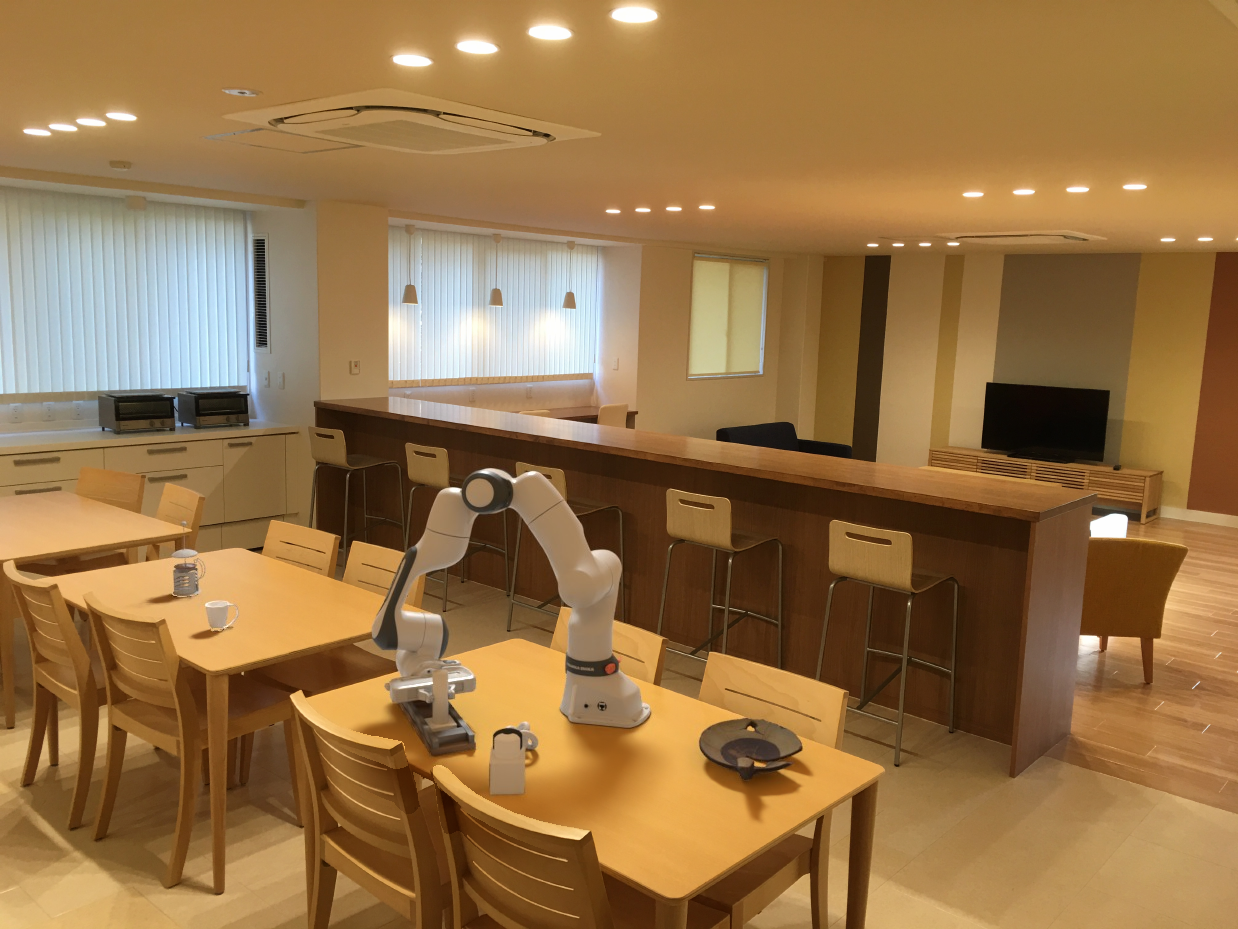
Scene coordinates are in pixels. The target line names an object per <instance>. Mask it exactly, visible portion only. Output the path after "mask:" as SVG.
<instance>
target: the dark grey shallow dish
mask: <svg viewBox="0 0 1238 929" xmlns="http://www.w3.org/2000/svg"><path fill="white" fill-rule="evenodd" d="M749 727H751V728H752V729H754V730H749V729H748V728H749ZM698 739H699V740H698V746H699V749H700V752H701V753H702V755H703V756H704V757H705V758H706V759H707V760H709V761H710V762H712V763H714V764H715V765H717V766H719V767H721V768H723V769H726V770H728V771H732V772H734V773H737V774H738V775H739V777H740V779H741V780H742V781H746V782H747V781H751V780H752V779H753V777H754V776H756V775H761V774H771V773H774V772H778V771H781V770H784V769H786V768H788V767H790V766H792V765H794V764H795V762H794V761H788V760H787V761H781V760H785V759H787V758H789V757H792V756H795V755H797V754H799V753H801V752H802V751H803V742H802V741H801V739H800V738H799V737H798V735H797V734H796V733H794V732H793V731H792V730H791V729H788V728H786V727H785V726H782V725H779V724H778V723H774V722H771V721H768V720H765V719H763V718H762V719H759V718H758V719H757V718H756V719H755V718H749V717H742V718H736V719H728V720H724V721H720V722H717V723H714V724H711V725H709V726H708V727H706V729H704V730H702V732H701V733H700V737H699V738H698ZM754 760H755V761H758V762H762V763H766V765H764V766H757V765H755V761H754Z"/></svg>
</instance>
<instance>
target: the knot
mask: <svg viewBox="0 0 1238 929" xmlns="http://www.w3.org/2000/svg"><path fill="white" fill-rule="evenodd" d="M505 728H513V729H517V730H519V731H520V732H521V733H522V735H523V736H522V747H525V751H526V750H535V749H537V748H538V746H539V739H538V737H537V736H536V734H535V733H534V732H532V731H531V726H530V723H529V722H528V721H522V722H520V723H519V724H518V726H517V727H516V726H513V725H507V726H506V727H505ZM529 740H530V741H531V742H530V741H529Z"/></svg>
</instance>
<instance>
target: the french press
mask: <svg viewBox="0 0 1238 929" xmlns="http://www.w3.org/2000/svg"><path fill="white" fill-rule="evenodd" d="M186 525H188V524H187V521H181V522H180V526H183V528H182V529H183V531H185V526H186ZM185 538H186V537H185V536H183V549H180V550H177V551H174V552H173V553H172V554H171V557H172V558H175V559H189V558H194V557H197V555H199V552H197V551H196V550H194V549H191V548H189V549H188V548H186V541H185ZM199 560H200V561H199ZM197 563H199V565H200V567H201V568H206V564H205V562H204V561H203V560H202V559H201V558H199V557H197V558H195V559H194V560H193V562H186V560H184V562H183V563H177V564H175V565H174V566H173V568H174V569H173V570H172V573H173V574H172V576H173V594H174V595H177V596H190V595H195V594H199V593H200V592H201V591H202V590H201V589H200V587H199V581H200V579H203V577H205V574H206V570H204V571H203V569H201V575H200V576H199V569H198V567H197V566H198V565H197ZM201 563H202V564H201ZM203 566H204V567H203Z"/></svg>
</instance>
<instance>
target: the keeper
mask: <svg viewBox="0 0 1238 929" xmlns="http://www.w3.org/2000/svg"><path fill="white" fill-rule="evenodd" d="M432 683H433V695H434V702H433V717H432V718H426V719H424V720H425V721H426V723H427V724H428V726H429V727H430V729H431V730H432V732H436V731H442V730H448V729H454V728H457V724H456V723H455V721H454V720H453V719H452V717H451V716H450V715H448V701H449V700H448V671H447V670H444V669H438V670H434V671H433V672H432Z"/></svg>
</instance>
